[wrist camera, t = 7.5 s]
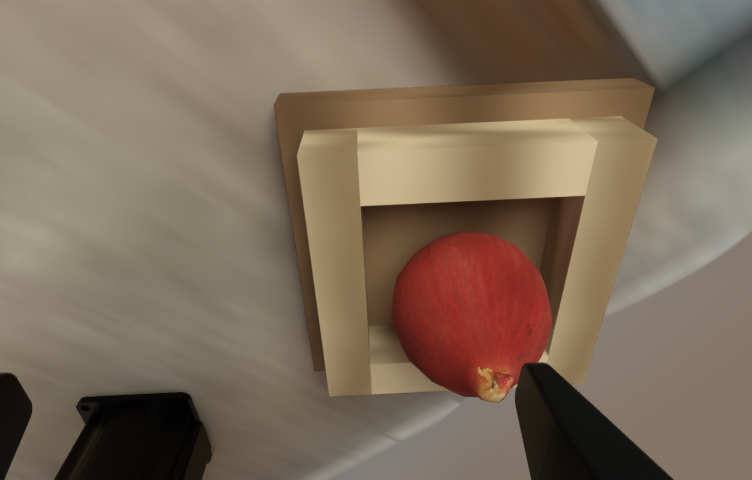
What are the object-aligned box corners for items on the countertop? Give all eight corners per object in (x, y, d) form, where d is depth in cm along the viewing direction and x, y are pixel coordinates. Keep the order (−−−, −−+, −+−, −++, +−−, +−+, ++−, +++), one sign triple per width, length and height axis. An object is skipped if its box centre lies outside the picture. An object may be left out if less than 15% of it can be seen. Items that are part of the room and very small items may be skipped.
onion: (525, 286, 22) (601, 439, 15) (408, 317, 22) (429, 476, 16) (504, 178, 19) (587, 309, 12) (370, 219, 19) (376, 363, 13)
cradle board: (316, 349, 26) (310, 411, 22) (280, 93, 18) (261, 127, 15) (567, 336, 26) (599, 396, 22) (633, 77, 18) (697, 107, 15)
